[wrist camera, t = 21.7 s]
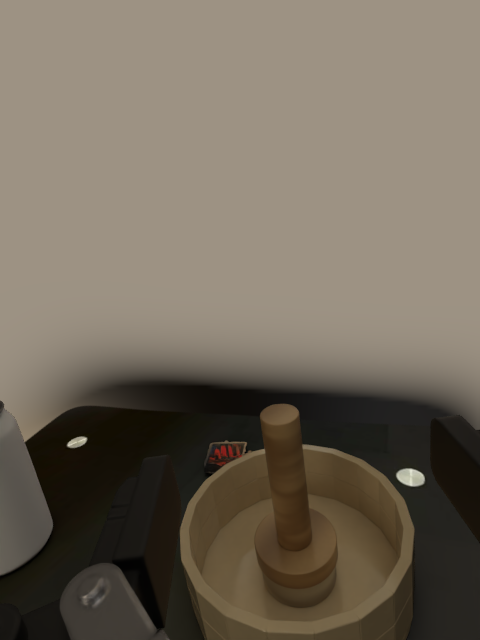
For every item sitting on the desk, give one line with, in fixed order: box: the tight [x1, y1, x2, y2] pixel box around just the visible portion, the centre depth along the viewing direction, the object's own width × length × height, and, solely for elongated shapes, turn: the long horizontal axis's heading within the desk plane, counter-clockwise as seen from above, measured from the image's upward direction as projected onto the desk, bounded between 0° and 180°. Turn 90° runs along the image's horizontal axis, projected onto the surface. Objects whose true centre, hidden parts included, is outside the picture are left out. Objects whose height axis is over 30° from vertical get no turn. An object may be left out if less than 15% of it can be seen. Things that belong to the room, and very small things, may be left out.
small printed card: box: [204, 441, 251, 473], centre depth 39 cm, size 5×5×1 cm
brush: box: [254, 404, 338, 608], centre depth 24 cm, size 5×5×12 cm
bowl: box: [180, 445, 415, 640], centre depth 26 cm, size 14×14×5 cm
